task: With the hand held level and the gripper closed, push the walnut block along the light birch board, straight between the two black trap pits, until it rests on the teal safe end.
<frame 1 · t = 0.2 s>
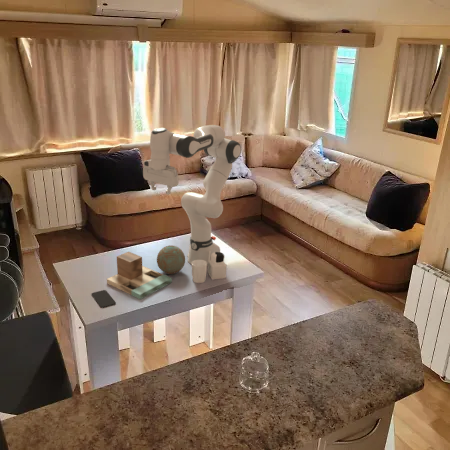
hand: (161, 191, 223), 48 cm above the table, tool pointing down, fingers open, 8 cm apart
walnut block: (130, 274, 240), point 2 cm above the table, touching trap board
phone: (103, 299, 222), on the table
container: (216, 276, 248), on the table
white cup: (199, 280, 242), on the table
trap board: (139, 282, 237), on the table
decorative sphere: (171, 272, 250), on the table
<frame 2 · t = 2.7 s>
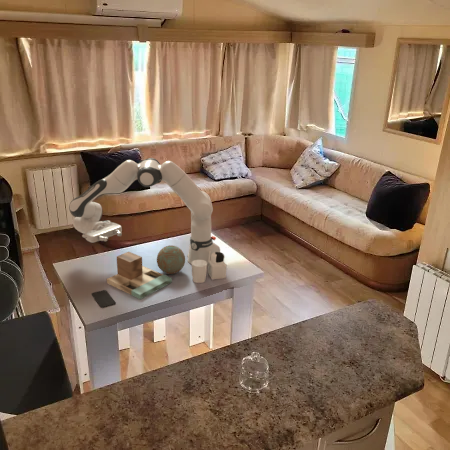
hand: (113, 237, 240), 20 cm above the table, tool horizontal, fingers open, 8 cm apart
nothing on the table moved.
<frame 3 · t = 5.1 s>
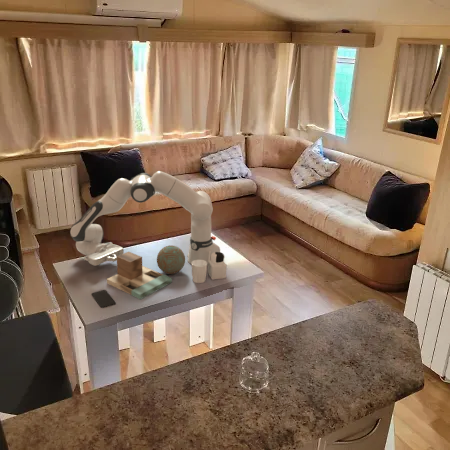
hand: (115, 259, 244), 7 cm above the table, tool horizontal, fingers closed
nothing on the table moved.
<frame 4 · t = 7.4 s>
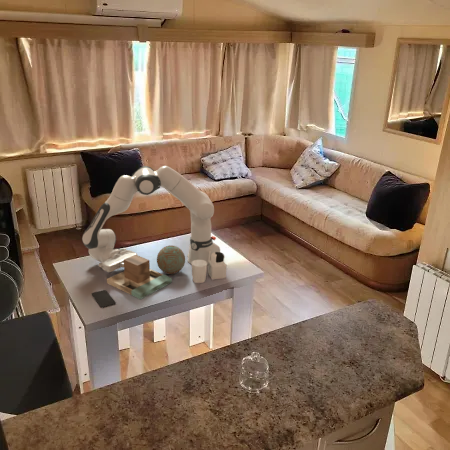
hand: (130, 265, 238), 7 cm above the table, tool horizontal, fingers closed, pressing on walnut block
walnut block: (137, 277, 237), point 2 cm above the table, touching gripper, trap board
everything else where it was.
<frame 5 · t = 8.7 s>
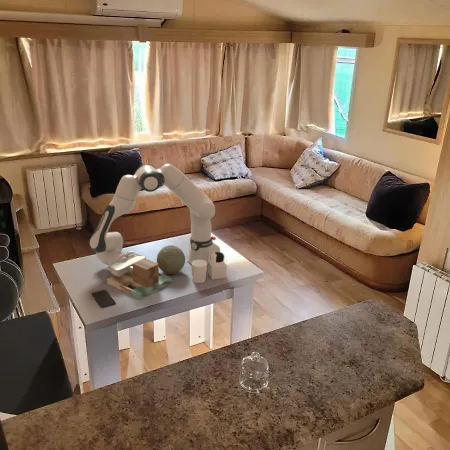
hand: (139, 269, 235), 7 cm above the table, tool horizontal, fingers closed
walnut block: (146, 281, 234), point 3 cm above the table
everything else where it was.
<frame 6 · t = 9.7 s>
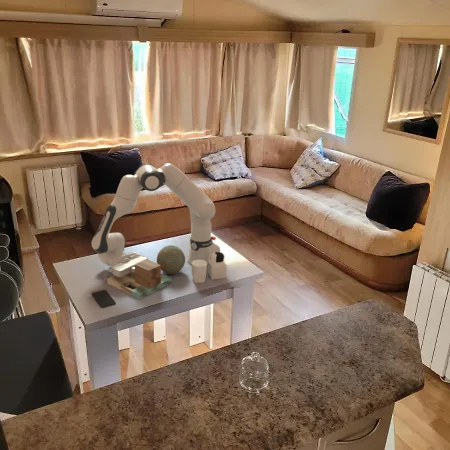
hand: (141, 270, 234), 8 cm above the table, tool horizontal, fingers closed, pressing on walnut block
walnut block: (148, 282, 233), point 2 cm above the table, touching gripper, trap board
everything else where it was.
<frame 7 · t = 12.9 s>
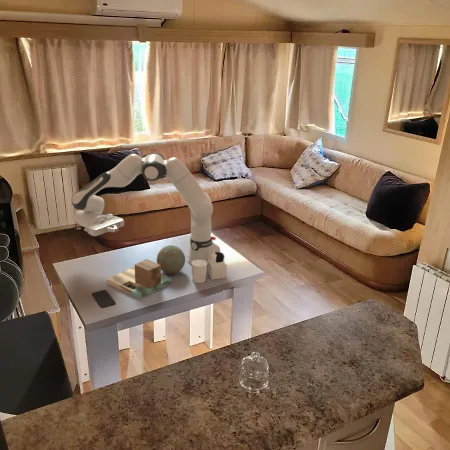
hand: (116, 230, 237), 25 cm above the table, tool horizontal, fingers closed
walnut block: (148, 282, 233), point 2 cm above the table, touching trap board
everything else where it was.
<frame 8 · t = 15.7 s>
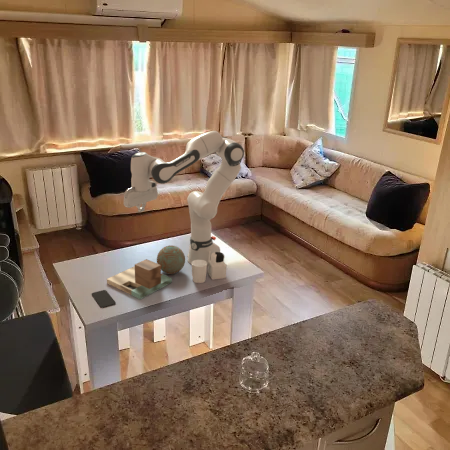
hand: (141, 211, 237), 34 cm above the table, tool pointing down, fingers closed
nothing on the table moved.
at the end: walnut block 1.1 cm from the target spot on the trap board, point 2.5 cm above the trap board's base; walnut block tilted 0° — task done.
